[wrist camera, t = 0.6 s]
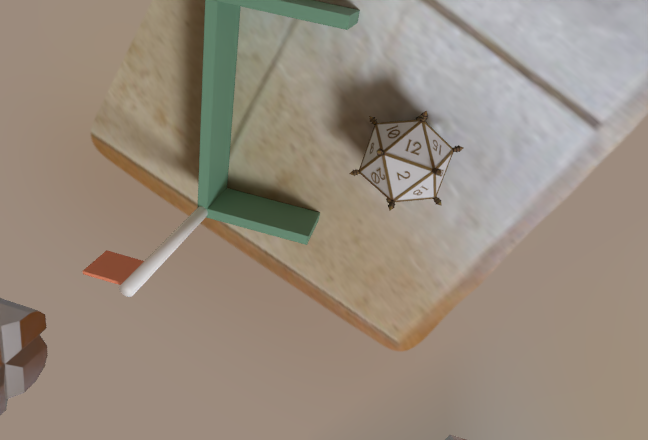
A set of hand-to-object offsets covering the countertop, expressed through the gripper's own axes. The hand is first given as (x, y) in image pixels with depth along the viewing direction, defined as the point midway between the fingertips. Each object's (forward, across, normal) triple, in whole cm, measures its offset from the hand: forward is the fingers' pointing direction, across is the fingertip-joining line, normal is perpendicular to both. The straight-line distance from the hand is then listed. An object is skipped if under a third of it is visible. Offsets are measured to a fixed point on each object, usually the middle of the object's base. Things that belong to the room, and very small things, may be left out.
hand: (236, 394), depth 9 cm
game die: (+37, -4, +3) cm, 37 cm away
